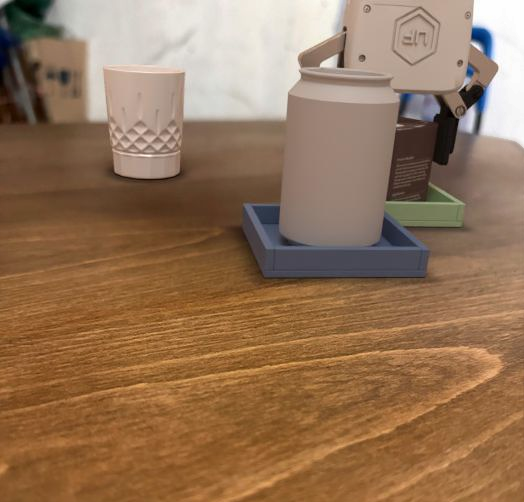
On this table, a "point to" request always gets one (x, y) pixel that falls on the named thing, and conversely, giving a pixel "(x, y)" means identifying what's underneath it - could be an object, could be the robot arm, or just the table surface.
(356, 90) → the can
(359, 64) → the robot arm
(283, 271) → the tray blue
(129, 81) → the white cup
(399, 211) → the tray green
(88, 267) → the table surface
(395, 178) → the box
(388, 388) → the table surface
